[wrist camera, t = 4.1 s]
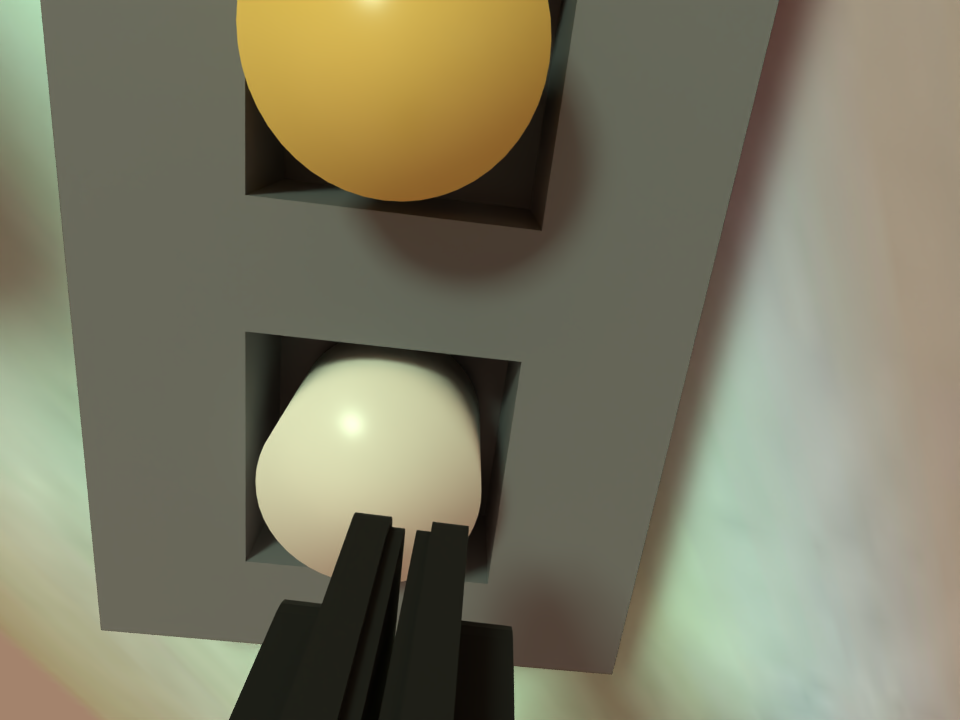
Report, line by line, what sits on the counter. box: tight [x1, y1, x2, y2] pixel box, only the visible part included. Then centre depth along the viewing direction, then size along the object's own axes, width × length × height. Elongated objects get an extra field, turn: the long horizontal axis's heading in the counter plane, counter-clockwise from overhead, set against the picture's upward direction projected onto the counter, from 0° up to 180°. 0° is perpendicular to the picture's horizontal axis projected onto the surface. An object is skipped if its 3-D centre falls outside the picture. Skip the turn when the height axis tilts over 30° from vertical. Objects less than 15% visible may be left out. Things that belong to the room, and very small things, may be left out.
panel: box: [40, 0, 779, 674], centre depth 13 cm, size 12×26×3 cm, turn 173°
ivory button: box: [256, 342, 481, 582], centre depth 15 cm, size 4×4×3 cm
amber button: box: [236, 0, 551, 202], centre depth 11 cm, size 4×4×3 cm
